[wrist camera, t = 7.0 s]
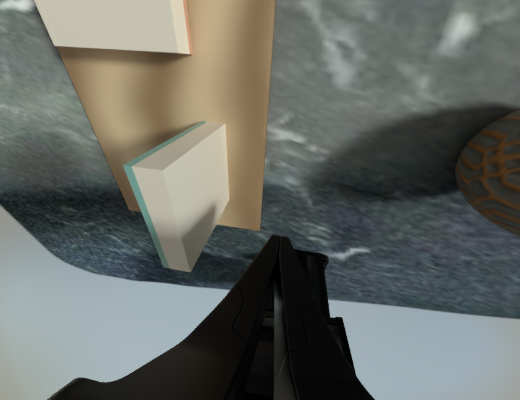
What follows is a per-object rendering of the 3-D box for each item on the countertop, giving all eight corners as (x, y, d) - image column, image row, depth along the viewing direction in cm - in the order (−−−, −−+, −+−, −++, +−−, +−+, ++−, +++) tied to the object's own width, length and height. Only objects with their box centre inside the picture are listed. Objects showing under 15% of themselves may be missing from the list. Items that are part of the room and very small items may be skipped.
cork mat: (301, -371, 6) (301, -397, 5) (260, 228, 20) (259, 231, 20) (-86, -297, 7) (-104, -315, 7) (132, 208, 22) (129, 210, 22)
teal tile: (225, 123, 14) (162, 170, 8) (229, 199, 18) (190, 272, 12) (202, 121, 14) (122, 165, 8) (211, 197, 18) (163, 267, 12)
